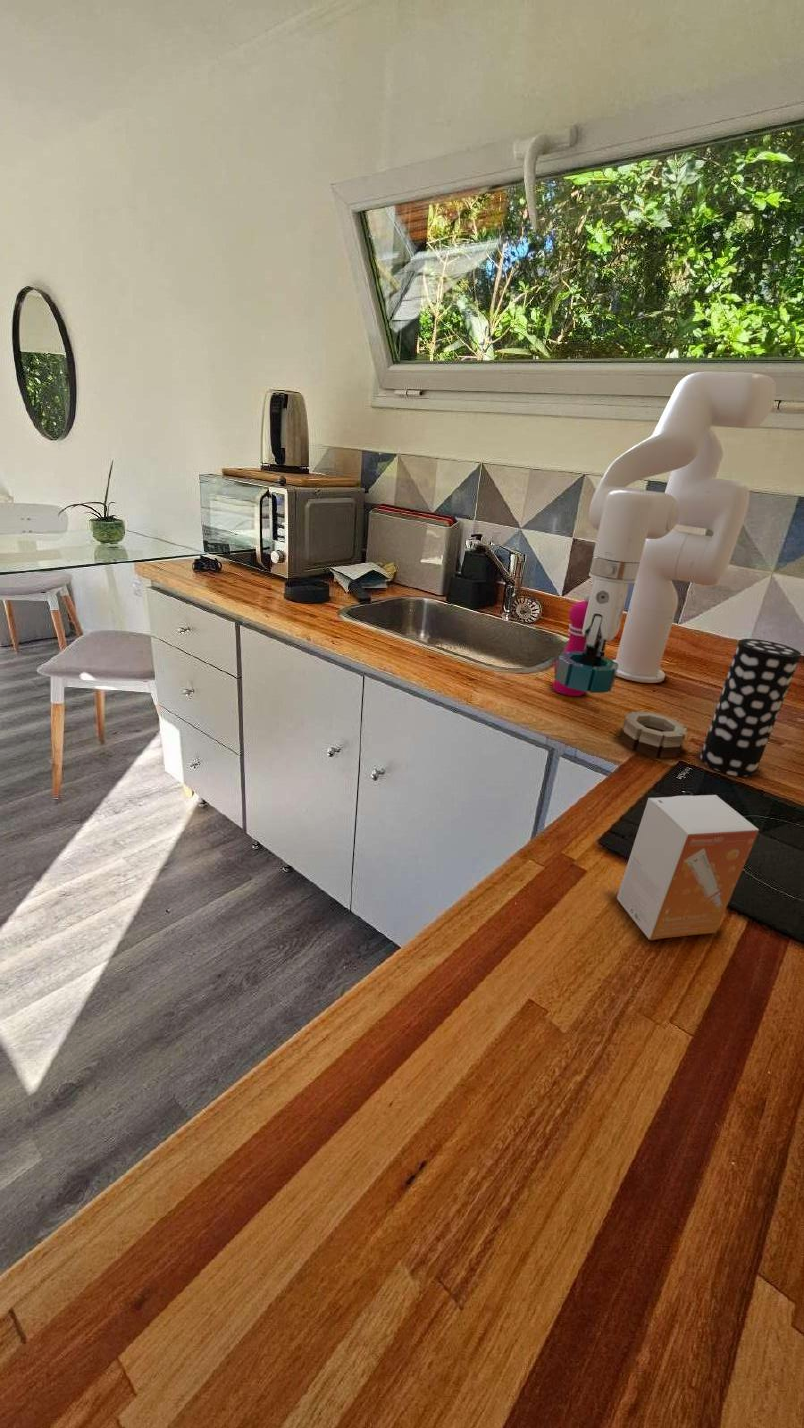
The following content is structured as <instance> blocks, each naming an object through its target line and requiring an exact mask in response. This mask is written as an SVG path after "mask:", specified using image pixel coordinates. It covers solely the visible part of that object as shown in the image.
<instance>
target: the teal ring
mask: <svg viewBox="0 0 804 1428" xmlns="http://www.w3.org/2000/svg"><path fill="white" fill-rule="evenodd" d="M582 654H583V652H581V651H566V652H564V651H563V652H561V654H560V655H558V659H557V660H558V662H557V661H556V662H557V667H556V672H554V676H553V679H554V680H557V681H558V682H560V683H561V684H562V685H564V686H568V688H572V689H576V690H580V691H584V693H588V692H590V693H591V694H596V693H599V694H600V693H608V692H611V691H612V689H613V687H614V685H615V682H616V678H617V676H616V674H617V670H618V666H619V665H617V664H618V663H616V662H614V661H612V660H613V659H611V658H609V657H607V656H606V657H605V656H604V657H603V656H602V657H601V661H600V665H599V667H592V666H588V665H584V664H580V662H581V658H582ZM600 656H601V655H600Z"/></svg>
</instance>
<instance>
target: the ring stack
mask: <svg viewBox="0 0 804 1428" xmlns="http://www.w3.org/2000/svg"><path fill="white" fill-rule="evenodd" d="M687 730H688V728H687V727H686V725H684V724H682V723H681V722H679V721H678V720H676V719H674V718H670V717H669V716H667V715H663V714H659V713H655V712H653V711H649V712H647V711H645V710H643V711H630V712H627V713H626V716H625V718H624V721H623V724H622V727H621V732H620V736H619V741H620V743H622V744H623V745H624V746H625V747H627V748H628V749H629V750H631V751H635V753H638V754H641V755H645V756H647V757H652V758H654V759H655V758H657V757H658V758H659V759H672V758H673V759H675V758H677V757H679V756H680V753H681V750H682V747H683V744H684V741H685V737H686V735H687V732H688V731H687Z"/></svg>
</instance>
